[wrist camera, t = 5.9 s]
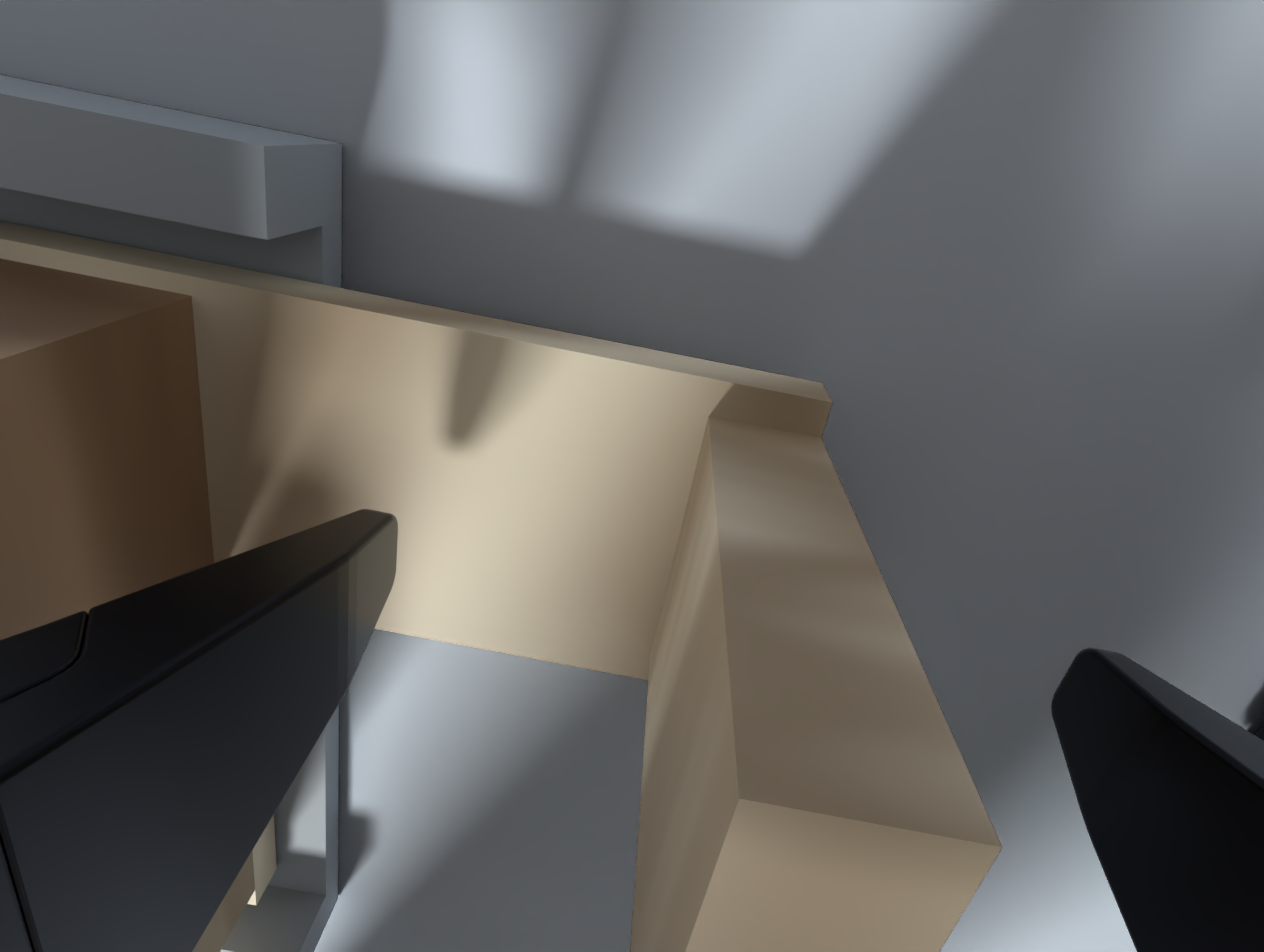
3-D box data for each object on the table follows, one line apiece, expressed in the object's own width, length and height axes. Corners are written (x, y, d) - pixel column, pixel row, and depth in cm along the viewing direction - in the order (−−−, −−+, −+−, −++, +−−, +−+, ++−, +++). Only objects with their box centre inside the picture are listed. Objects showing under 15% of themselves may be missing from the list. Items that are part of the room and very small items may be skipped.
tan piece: (821, 382, 10) (1041, 784, 4) (734, 663, 12) (785, 1208, 6) (-125, 196, 10) (-1499, 307, 4) (-43, 516, 12) (-815, 926, 6)
